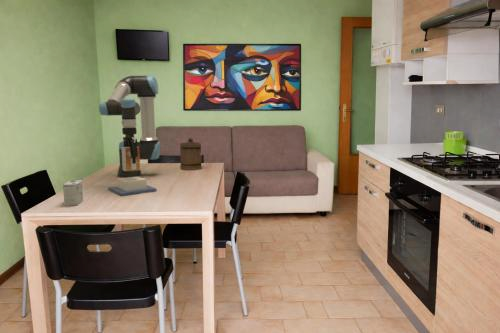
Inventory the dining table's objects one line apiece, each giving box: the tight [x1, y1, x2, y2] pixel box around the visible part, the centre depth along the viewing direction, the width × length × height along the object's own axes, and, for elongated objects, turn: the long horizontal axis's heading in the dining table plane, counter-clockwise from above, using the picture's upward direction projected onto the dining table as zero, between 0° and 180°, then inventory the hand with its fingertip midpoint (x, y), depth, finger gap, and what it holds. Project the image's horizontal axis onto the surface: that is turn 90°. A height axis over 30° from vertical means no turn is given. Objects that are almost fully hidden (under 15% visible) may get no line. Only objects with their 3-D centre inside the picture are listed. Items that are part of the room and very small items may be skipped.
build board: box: [107, 176, 157, 197], centre depth 266 cm, size 20×20×6 cm
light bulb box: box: [62, 179, 84, 207], centre depth 237 cm, size 11×7×11 cm, turn 5°
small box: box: [122, 147, 141, 171], centre depth 264 cm, size 8×6×13 cm
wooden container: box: [179, 137, 202, 171], centre depth 339 cm, size 15×15×22 cm
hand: (131, 168), depth 264 cm, fingers closed on small box, 6 cm apart
